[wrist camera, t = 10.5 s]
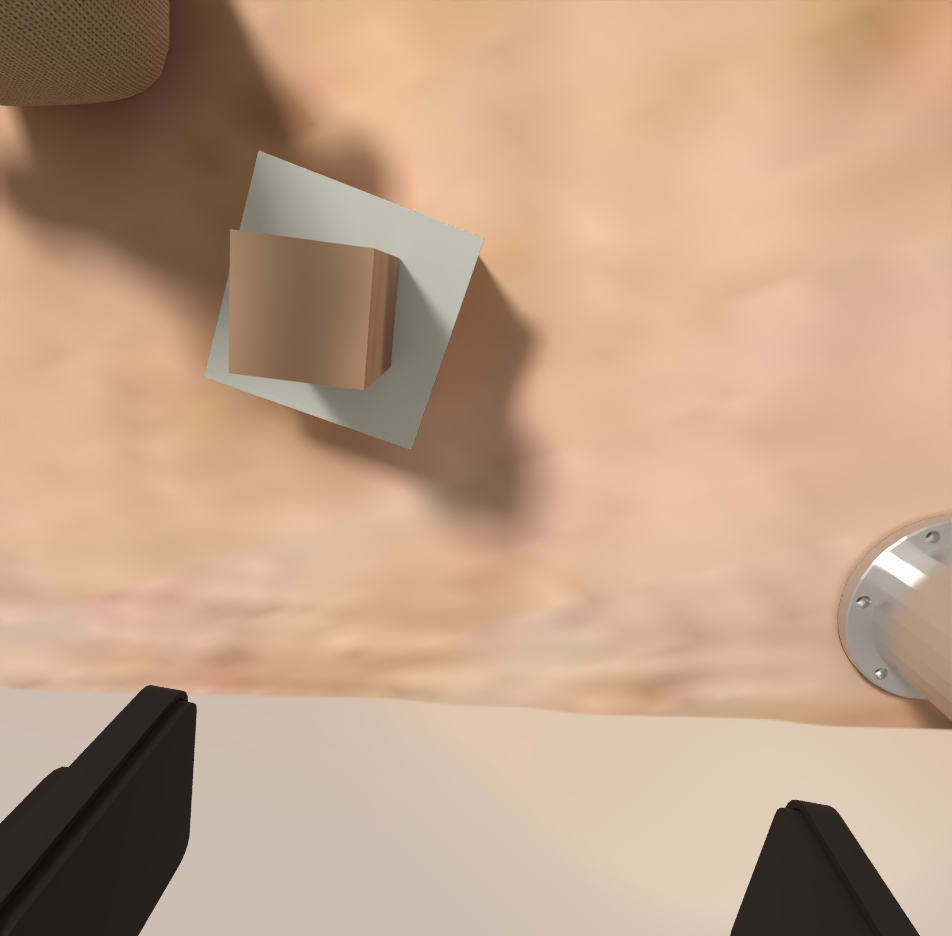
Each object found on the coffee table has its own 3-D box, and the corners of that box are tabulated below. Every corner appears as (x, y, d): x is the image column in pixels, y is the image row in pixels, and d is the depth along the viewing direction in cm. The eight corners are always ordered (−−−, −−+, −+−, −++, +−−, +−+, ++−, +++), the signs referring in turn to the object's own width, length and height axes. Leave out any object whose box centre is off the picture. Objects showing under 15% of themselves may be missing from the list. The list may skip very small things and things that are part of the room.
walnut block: (400, 258, 28) (374, 248, 21) (390, 367, 29) (363, 390, 22) (290, 243, 28) (230, 229, 21) (286, 353, 29) (228, 373, 22)
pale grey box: (483, 248, 33) (484, 238, 27) (421, 425, 36) (411, 450, 30) (297, 176, 32) (258, 150, 27) (249, 363, 35) (203, 376, 29)
